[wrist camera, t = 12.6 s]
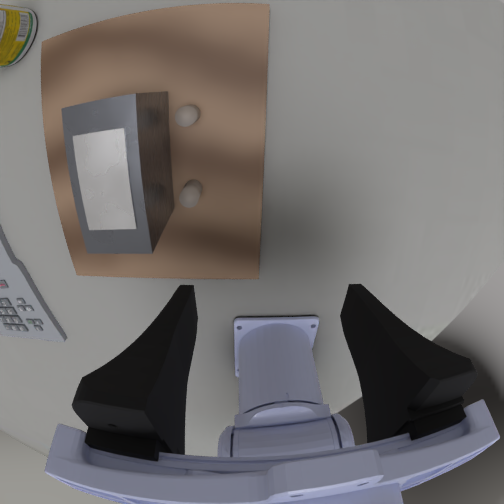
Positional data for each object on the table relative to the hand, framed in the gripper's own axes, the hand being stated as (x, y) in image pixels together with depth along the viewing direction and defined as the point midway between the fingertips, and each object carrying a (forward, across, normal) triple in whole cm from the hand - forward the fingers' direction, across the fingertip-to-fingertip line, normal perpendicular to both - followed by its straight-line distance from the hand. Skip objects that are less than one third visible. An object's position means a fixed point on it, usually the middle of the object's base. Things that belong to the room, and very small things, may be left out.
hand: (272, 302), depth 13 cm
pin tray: (+9, +8, -5) cm, 13 cm away
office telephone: (+10, +35, +7) cm, 37 cm away
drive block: (+8, +8, -5) cm, 13 cm away
